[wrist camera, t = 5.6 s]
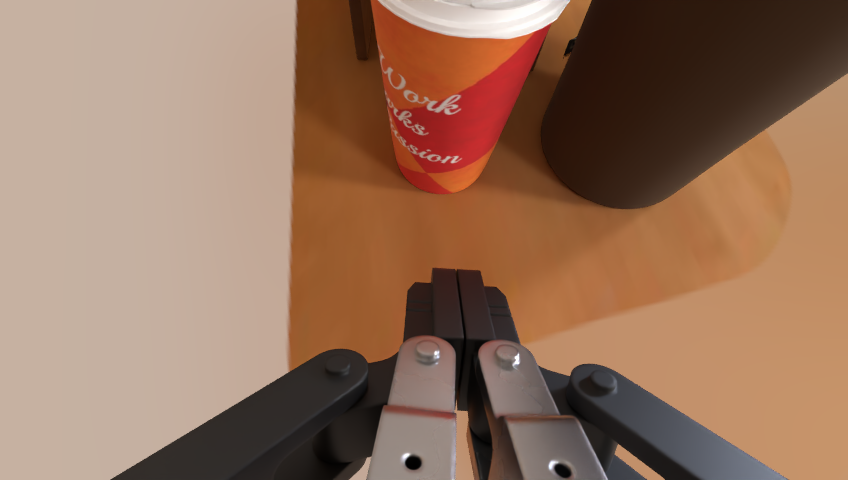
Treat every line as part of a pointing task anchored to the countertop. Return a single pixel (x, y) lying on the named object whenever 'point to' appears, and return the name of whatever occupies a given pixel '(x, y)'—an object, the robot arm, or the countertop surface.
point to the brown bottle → (682, 88)
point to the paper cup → (454, 79)
